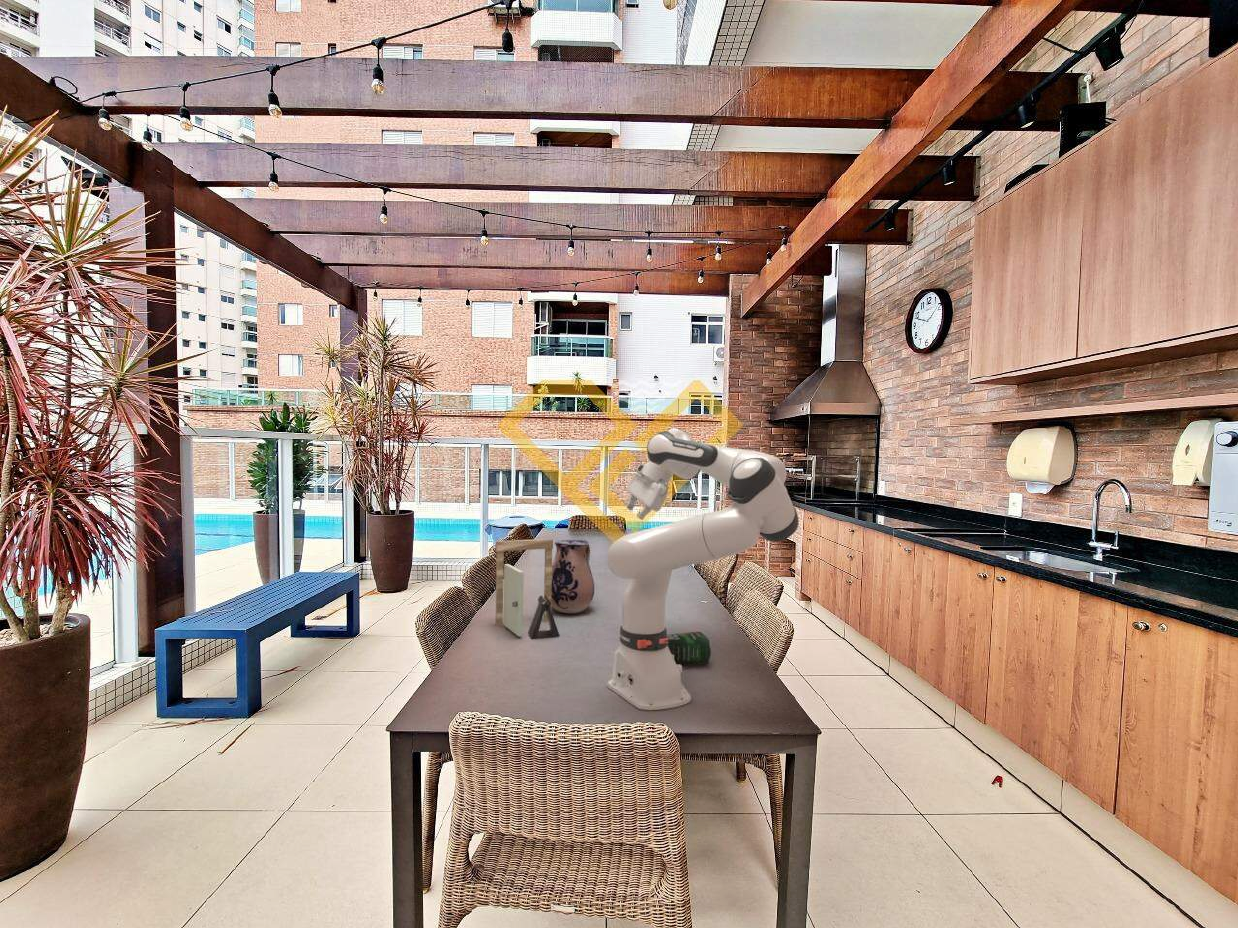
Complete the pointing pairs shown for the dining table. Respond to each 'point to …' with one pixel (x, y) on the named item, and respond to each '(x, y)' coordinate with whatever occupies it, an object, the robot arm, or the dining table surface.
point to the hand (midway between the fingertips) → (633, 513)
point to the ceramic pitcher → (571, 577)
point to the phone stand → (537, 620)
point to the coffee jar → (689, 648)
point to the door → (513, 599)
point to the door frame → (500, 549)
